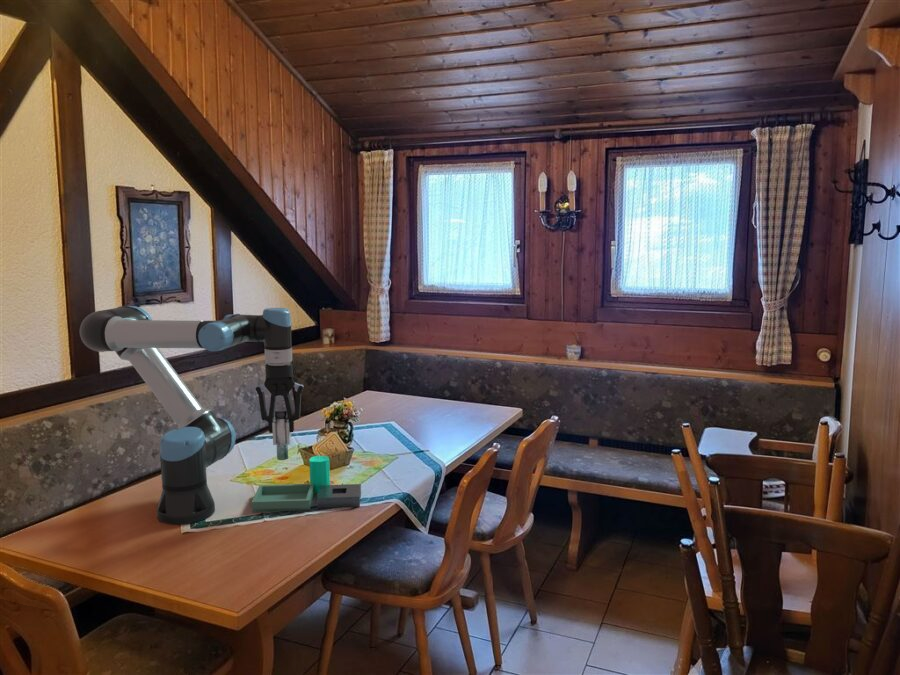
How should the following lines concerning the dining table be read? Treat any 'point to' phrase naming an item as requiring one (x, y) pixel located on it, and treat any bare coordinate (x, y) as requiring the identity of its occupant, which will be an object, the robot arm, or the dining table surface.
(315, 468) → the candle
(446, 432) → the dining table surface
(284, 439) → the pin
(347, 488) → the block
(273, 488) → the tray
